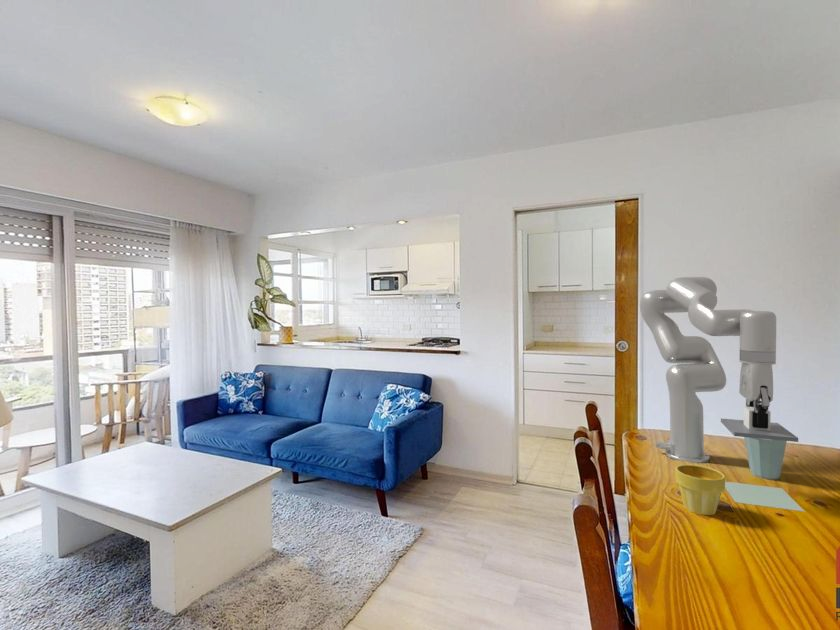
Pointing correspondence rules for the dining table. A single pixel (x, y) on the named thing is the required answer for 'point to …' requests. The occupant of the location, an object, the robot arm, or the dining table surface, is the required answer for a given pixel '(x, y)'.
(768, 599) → the dining table surface
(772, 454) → the disposable coffee cup
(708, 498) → the plant pot
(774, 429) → the lid
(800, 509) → the mat
